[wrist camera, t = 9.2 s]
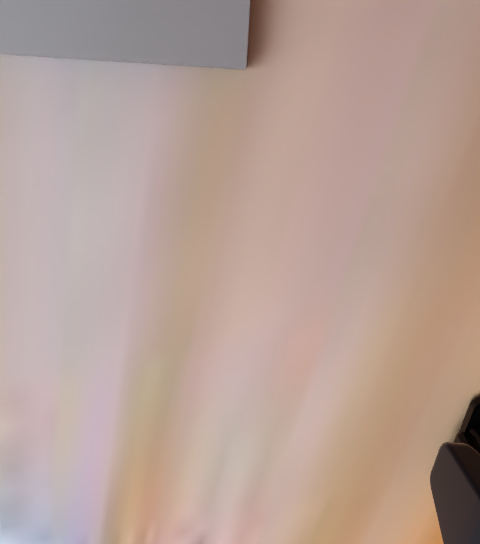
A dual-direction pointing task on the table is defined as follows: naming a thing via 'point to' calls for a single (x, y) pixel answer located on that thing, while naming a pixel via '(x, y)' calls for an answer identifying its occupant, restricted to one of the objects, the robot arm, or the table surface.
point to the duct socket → (129, 31)
